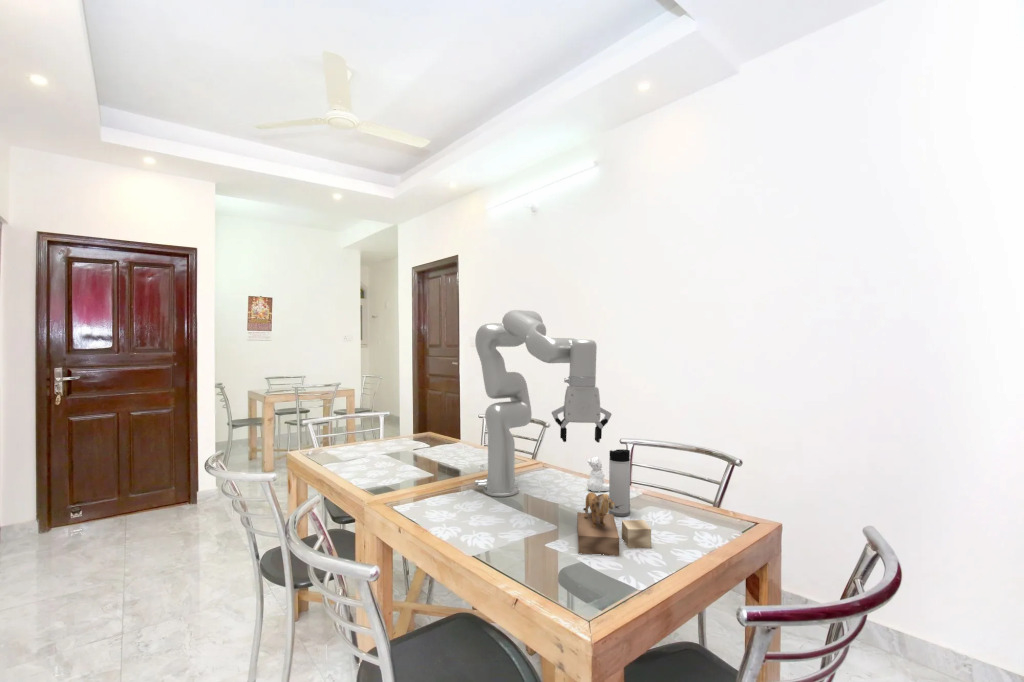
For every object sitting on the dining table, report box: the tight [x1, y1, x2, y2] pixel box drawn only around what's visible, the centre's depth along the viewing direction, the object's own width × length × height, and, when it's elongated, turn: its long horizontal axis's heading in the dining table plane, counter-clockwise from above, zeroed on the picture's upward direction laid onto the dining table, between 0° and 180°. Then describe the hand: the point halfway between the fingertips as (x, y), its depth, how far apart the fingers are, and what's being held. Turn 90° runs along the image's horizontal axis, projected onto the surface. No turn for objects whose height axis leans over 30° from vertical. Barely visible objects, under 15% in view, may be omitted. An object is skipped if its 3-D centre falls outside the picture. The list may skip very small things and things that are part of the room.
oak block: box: [621, 519, 652, 549], centre depth 120 cm, size 6×6×5 cm
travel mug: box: [608, 448, 631, 518], centre depth 141 cm, size 6×7×20 cm
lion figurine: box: [582, 491, 615, 527], centre depth 123 cm, size 15×5×9 cm, turn 17°
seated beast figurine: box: [586, 456, 609, 492], centre depth 164 cm, size 10×9×12 cm
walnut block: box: [576, 512, 620, 557], centre depth 121 cm, size 10×16×5 cm, turn 173°
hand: (580, 441), depth 132 cm, fingers open, 9 cm apart
